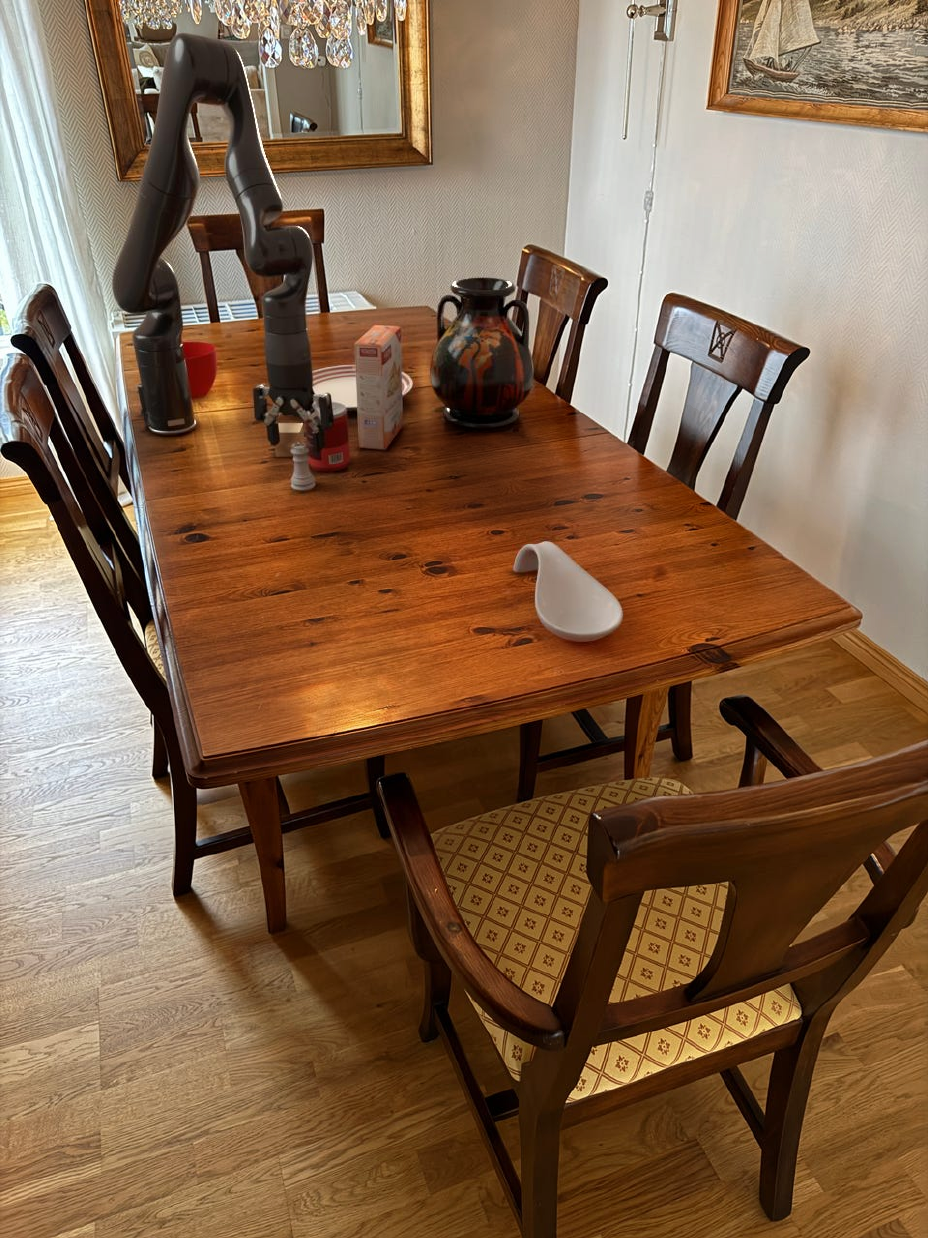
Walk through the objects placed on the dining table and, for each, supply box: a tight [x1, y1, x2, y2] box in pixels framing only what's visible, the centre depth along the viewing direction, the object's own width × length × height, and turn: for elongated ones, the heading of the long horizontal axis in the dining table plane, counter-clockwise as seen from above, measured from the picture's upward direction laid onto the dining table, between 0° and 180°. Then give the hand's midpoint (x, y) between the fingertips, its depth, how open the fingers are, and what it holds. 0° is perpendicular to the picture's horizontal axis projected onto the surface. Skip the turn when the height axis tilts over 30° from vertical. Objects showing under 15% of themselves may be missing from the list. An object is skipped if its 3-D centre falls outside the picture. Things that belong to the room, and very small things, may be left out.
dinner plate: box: [312, 364, 414, 412], centre depth 202 cm, size 28×27×3 cm
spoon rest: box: [513, 541, 624, 643], centre depth 126 cm, size 24×12×7 cm, turn 21°
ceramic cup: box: [182, 341, 218, 399], centre depth 204 cm, size 13×17×10 cm
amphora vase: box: [429, 276, 535, 433], centre depth 184 cm, size 22×22×28 cm
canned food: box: [304, 402, 351, 473], centre depth 168 cm, size 8×8×11 cm
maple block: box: [274, 422, 306, 458], centre depth 175 cm, size 5×5×5 cm
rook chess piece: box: [290, 442, 316, 492], centre depth 160 cm, size 4×4×8 cm
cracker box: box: [353, 324, 404, 451], centre depth 177 cm, size 14×6×21 cm, turn 168°
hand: (296, 447), depth 158 cm, fingers open, 8 cm apart
